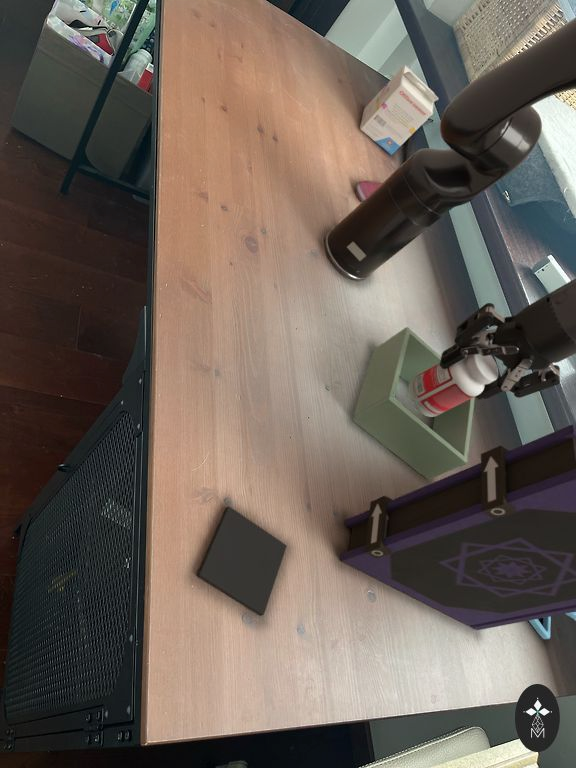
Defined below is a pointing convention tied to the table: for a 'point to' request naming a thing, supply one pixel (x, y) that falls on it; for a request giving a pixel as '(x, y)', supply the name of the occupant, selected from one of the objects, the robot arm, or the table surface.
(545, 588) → the book
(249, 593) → the mat
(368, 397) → the green open box
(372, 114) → the ink box
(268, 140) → the table surface
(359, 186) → the eraser
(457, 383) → the pill bottle
